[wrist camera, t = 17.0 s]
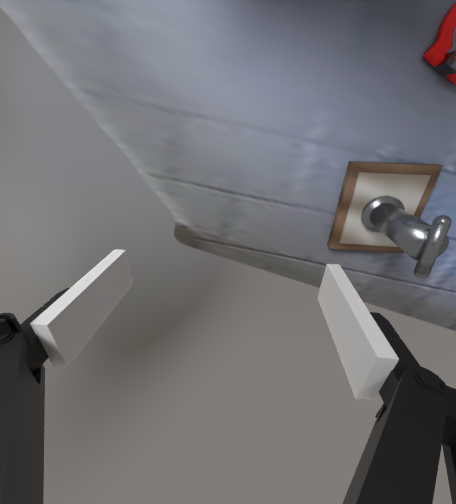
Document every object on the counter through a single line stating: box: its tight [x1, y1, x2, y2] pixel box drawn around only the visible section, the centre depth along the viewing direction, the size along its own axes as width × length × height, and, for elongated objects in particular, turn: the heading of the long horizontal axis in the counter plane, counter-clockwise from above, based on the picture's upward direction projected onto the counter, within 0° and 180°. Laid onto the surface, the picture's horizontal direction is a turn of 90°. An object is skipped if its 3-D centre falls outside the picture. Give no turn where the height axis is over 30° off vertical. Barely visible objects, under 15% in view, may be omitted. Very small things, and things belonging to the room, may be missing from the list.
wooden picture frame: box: [327, 161, 443, 253], centre depth 41 cm, size 16×14×2 cm
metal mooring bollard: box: [361, 195, 451, 278], centre depth 34 cm, size 9×6×14 cm
